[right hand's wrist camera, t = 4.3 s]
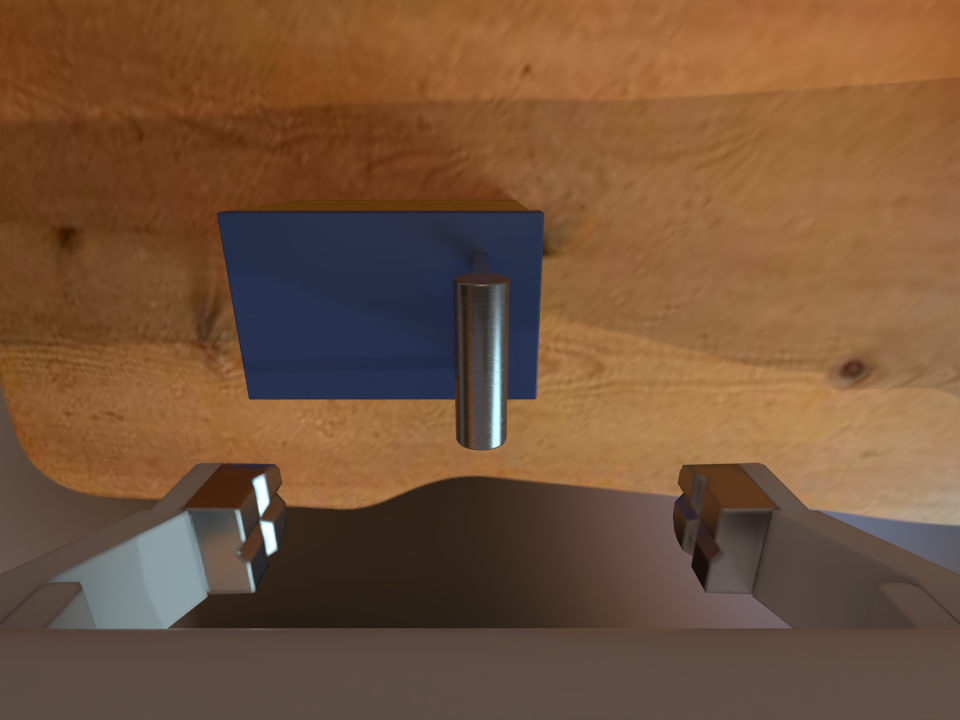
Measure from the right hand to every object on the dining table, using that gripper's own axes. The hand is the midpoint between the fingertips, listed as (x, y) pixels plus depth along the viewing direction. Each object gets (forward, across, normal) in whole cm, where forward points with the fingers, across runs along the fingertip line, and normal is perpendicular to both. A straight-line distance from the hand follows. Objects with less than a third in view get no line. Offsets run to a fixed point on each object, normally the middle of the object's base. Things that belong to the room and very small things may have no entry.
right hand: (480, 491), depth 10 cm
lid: (+16, +4, 0) cm, 16 cm away
